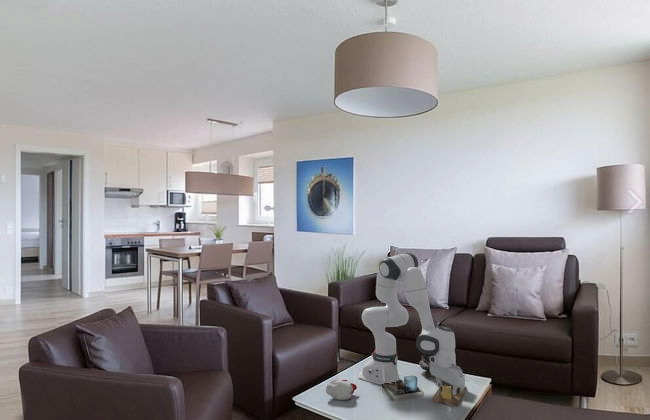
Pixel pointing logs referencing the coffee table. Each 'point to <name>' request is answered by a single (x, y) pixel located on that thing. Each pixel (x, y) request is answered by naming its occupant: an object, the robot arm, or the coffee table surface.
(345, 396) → the white red lumpy figurine
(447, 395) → the yellow cube
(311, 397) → the coffee table surface
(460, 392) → the housing cover
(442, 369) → the robot arm
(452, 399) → the housing base
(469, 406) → the coffee table surface
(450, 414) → the coffee table surface
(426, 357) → the apothecary jar
